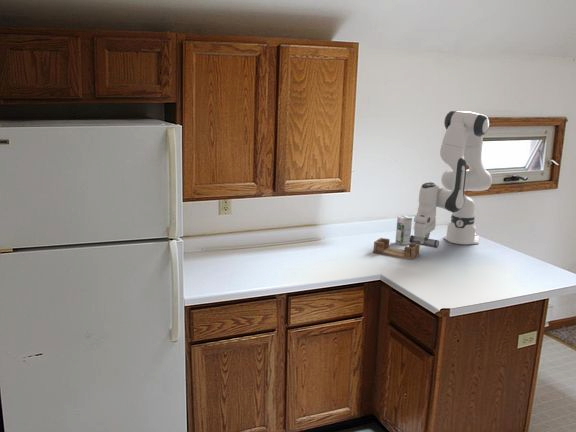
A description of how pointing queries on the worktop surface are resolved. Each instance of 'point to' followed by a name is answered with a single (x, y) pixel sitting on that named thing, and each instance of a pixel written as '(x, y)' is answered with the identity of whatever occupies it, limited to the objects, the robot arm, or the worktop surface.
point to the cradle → (408, 253)
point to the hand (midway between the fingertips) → (424, 242)
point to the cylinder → (428, 242)
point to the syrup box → (403, 230)
